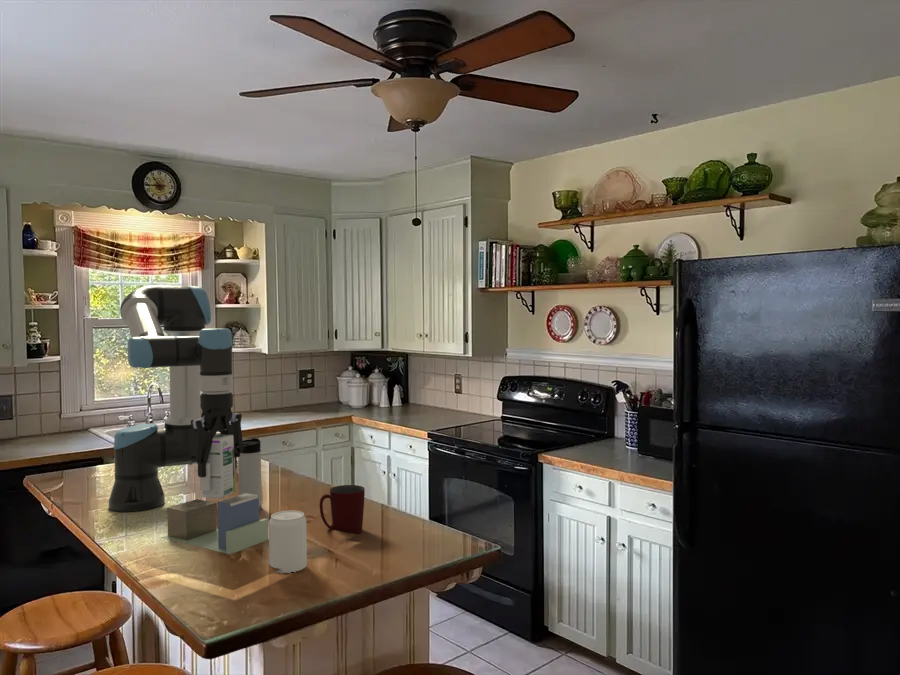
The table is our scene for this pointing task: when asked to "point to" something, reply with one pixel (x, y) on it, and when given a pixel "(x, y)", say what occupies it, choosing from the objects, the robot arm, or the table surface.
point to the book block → (236, 514)
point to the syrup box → (221, 467)
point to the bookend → (191, 519)
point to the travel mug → (250, 468)
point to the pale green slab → (231, 537)
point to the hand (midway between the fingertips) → (218, 486)
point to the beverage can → (288, 541)
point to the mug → (345, 508)
